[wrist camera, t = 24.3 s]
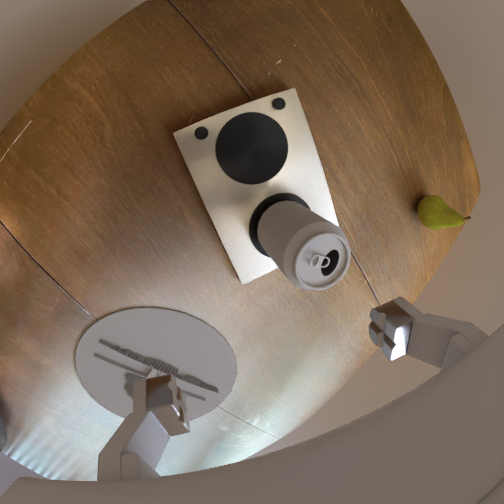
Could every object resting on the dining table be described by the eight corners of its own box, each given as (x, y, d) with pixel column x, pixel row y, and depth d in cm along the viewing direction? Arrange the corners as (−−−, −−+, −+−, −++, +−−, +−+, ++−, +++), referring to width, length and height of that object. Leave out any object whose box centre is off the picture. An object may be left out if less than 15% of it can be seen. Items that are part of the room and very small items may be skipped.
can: (297, 258, 42) (339, 301, 31) (247, 247, 39) (278, 292, 28) (316, 207, 39) (367, 236, 29) (266, 192, 37) (306, 217, 26)
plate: (268, 353, 49) (270, 358, 48) (183, 436, 53) (183, 440, 52) (118, 272, 38) (117, 276, 36) (57, 386, 41) (56, 390, 40)
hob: (172, 133, 33) (172, 133, 31) (290, 89, 34) (297, 86, 32) (239, 280, 43) (243, 288, 41) (336, 233, 44) (344, 238, 42)
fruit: (422, 227, 48) (470, 251, 38) (405, 214, 46) (456, 237, 35) (435, 200, 47) (484, 220, 36) (419, 185, 45) (471, 203, 34)
